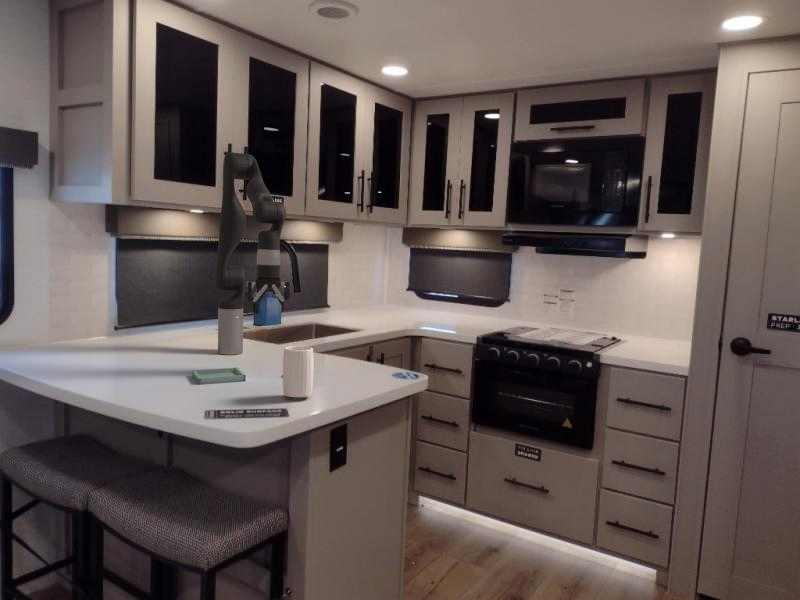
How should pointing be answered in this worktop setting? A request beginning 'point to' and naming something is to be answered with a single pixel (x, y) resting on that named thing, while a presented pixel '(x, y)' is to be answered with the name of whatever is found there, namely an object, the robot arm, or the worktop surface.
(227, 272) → the robot arm
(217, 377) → the tray
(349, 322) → the worktop surface
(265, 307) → the perfume bottle
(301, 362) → the cup
